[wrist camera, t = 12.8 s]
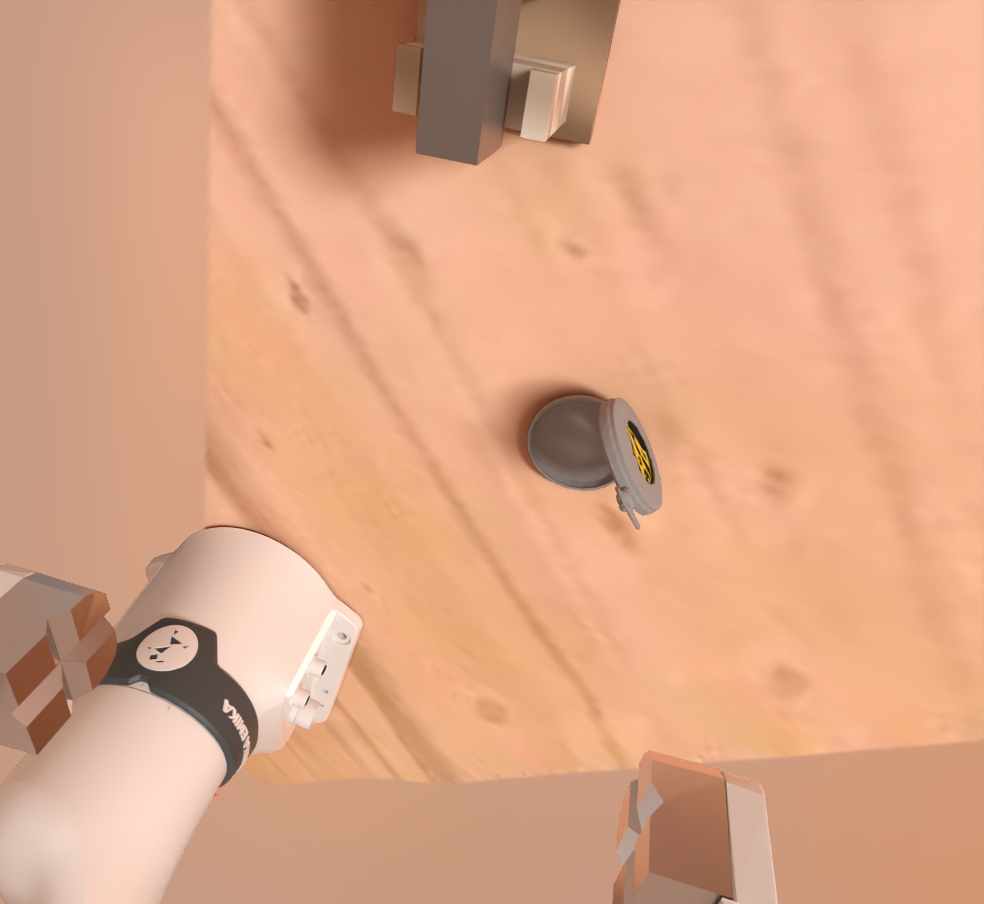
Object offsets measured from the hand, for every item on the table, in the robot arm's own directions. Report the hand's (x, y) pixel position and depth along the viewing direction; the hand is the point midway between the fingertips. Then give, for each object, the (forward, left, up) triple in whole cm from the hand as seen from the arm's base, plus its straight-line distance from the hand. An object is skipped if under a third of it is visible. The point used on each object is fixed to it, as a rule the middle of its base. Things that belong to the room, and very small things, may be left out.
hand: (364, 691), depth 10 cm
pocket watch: (-13, -4, -31) cm, 34 cm away
